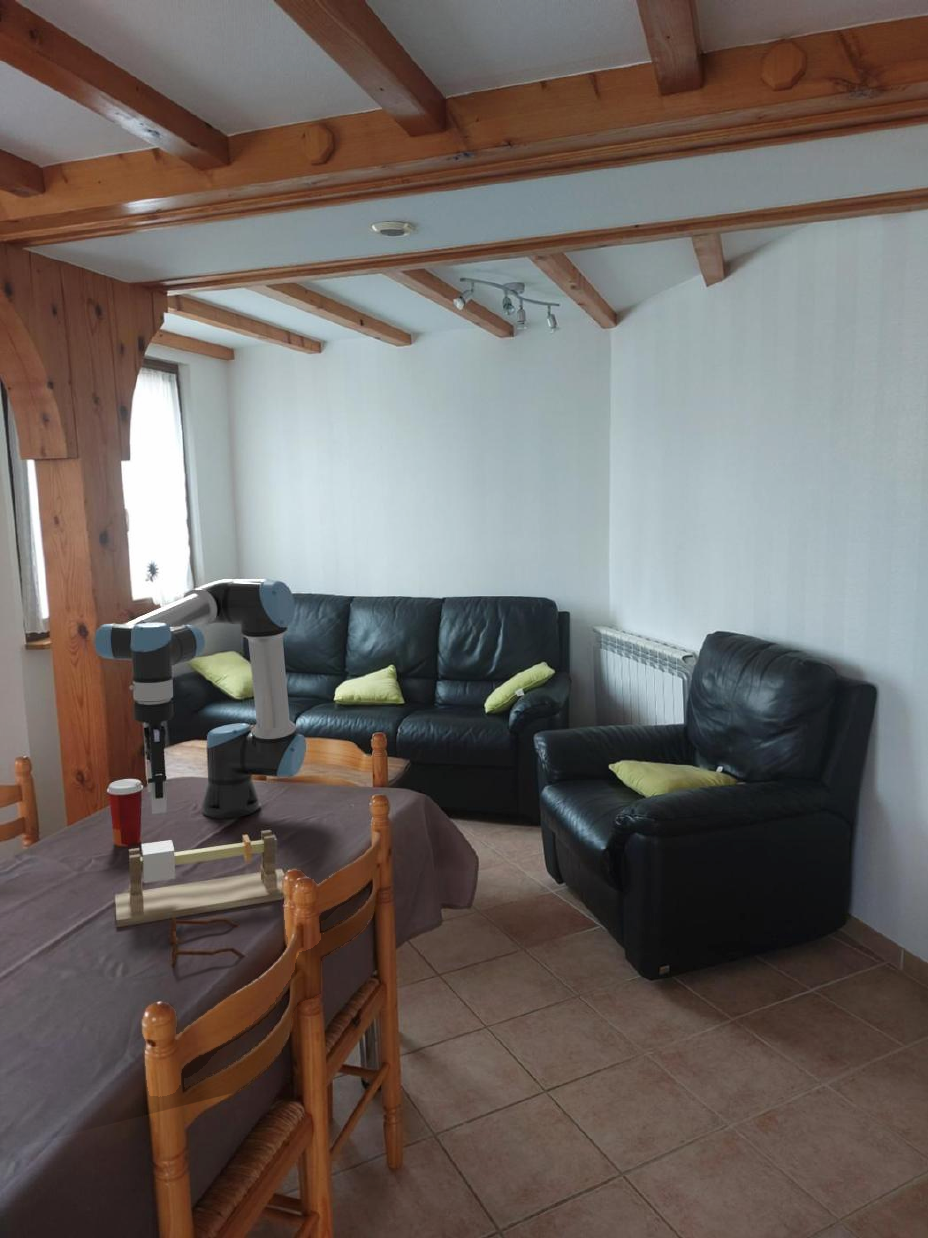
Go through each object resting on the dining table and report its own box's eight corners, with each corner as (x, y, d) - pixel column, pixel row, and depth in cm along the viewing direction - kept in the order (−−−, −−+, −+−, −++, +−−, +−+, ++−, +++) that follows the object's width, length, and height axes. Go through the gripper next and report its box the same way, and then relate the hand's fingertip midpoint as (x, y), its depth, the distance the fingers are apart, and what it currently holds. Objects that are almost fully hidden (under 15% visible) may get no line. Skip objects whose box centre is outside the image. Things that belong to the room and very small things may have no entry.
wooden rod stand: (115, 901, 181) (112, 844, 179) (281, 875, 195) (280, 822, 193) (116, 927, 170) (114, 867, 169) (292, 897, 184) (292, 841, 182)
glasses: (169, 938, 167) (168, 913, 167) (238, 927, 172) (237, 903, 171) (172, 972, 155) (171, 946, 155) (246, 959, 160) (245, 934, 159)
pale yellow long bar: (132, 870, 178) (131, 850, 177) (274, 850, 189) (273, 831, 189) (133, 879, 174) (132, 858, 173) (278, 857, 185) (277, 838, 185)
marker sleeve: (142, 871, 180) (141, 844, 179) (172, 867, 182) (171, 840, 181) (144, 883, 174) (143, 855, 173) (175, 878, 177) (174, 850, 176)
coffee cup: (151, 836, 216) (148, 778, 214) (135, 849, 208) (133, 789, 206) (119, 834, 217) (116, 777, 215) (102, 847, 209) (99, 788, 207)
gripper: (130, 689, 183) (134, 785, 186) (136, 716, 160) (140, 825, 163) (167, 686, 186) (170, 781, 189) (178, 712, 163) (182, 819, 166)
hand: (156, 801), depth 176 cm, fingers open, 13 cm apart
